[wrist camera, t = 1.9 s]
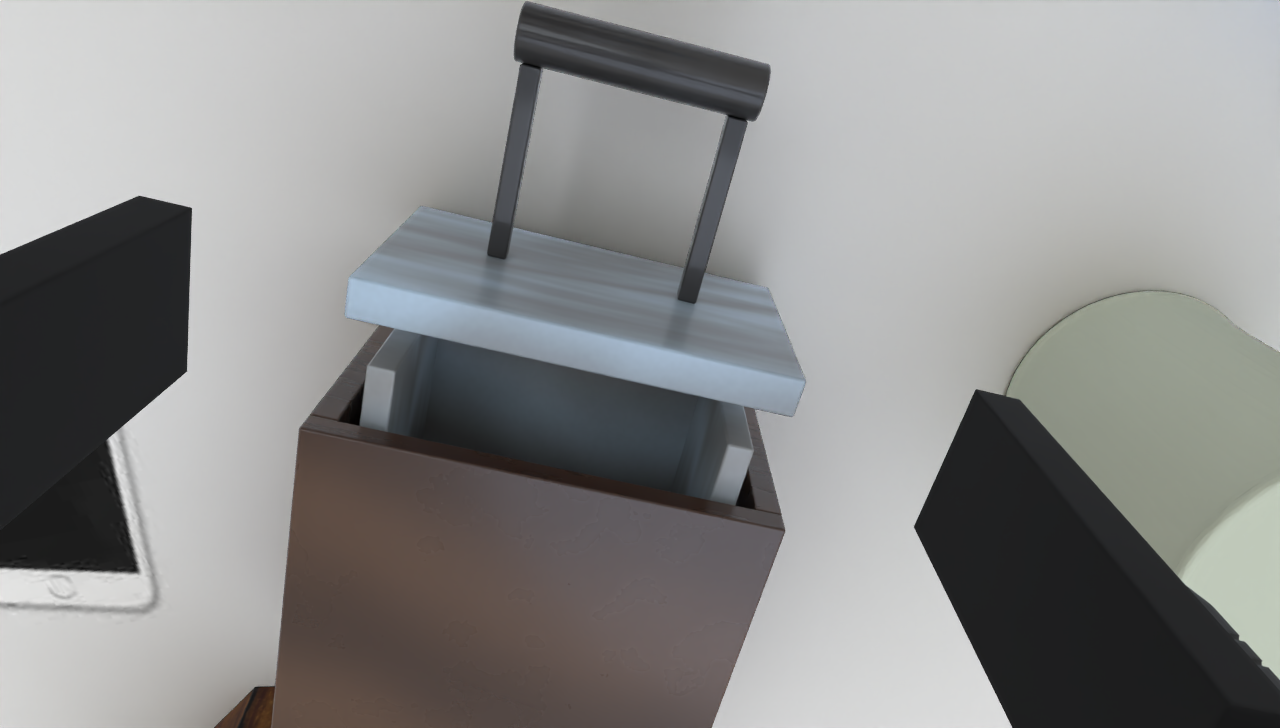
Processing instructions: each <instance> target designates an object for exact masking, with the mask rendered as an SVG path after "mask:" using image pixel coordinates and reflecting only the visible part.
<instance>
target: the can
mask: <svg viewBox="0 0 1280 728" xmlns="http://www.w3.org/2000/svg"><path fill="white" fill-rule="evenodd" d="M1006 396H1007V397H1011V398H1016V399H1020V400H1021V401H1022V403H1023V404H1024V405H1025V406H1026V407H1027V408H1028V409H1029V410H1030V411H1031V413H1032V414H1033V415H1034V416H1035V417H1036V418H1037V419H1038V420H1039V422H1040V423H1041V424H1042V425H1043V426H1044V427H1045V428H1046V429H1047V431H1048V432H1049V433H1050V434H1051V435H1052V436H1053V437H1054V438H1055V439H1056V441H1057V442H1058V443H1059V444H1060V445H1061V446H1062V447H1063V448H1064V450H1065V451H1066V452H1067V453H1068V454H1069V455H1070V456H1071V457H1072V459H1073V460H1074V461H1075V462H1076V463H1077V464H1078V465H1079V466H1080V467H1081V469H1082V470H1083V471H1084V472H1085V473H1086V474H1087V475H1088V476H1089V478H1090V479H1091V480H1092V481H1093V482H1094V483H1095V484H1096V485H1097V486H1098V488H1099V489H1100V490H1101V491H1102V492H1103V493H1104V494H1105V495H1106V497H1107V498H1108V499H1109V500H1110V501H1111V502H1112V503H1113V504H1114V506H1115V507H1116V508H1117V509H1118V510H1119V511H1120V512H1121V513H1122V514H1123V516H1124V517H1125V518H1126V519H1127V520H1128V521H1129V522H1130V523H1131V525H1132V526H1133V527H1134V528H1135V529H1136V530H1137V531H1138V532H1139V533H1140V535H1141V536H1142V537H1143V538H1144V539H1145V540H1146V541H1147V542H1148V544H1149V545H1150V546H1151V547H1152V548H1153V549H1154V550H1155V551H1156V553H1157V554H1158V555H1159V556H1160V557H1161V558H1162V559H1163V560H1164V561H1165V563H1166V564H1167V565H1168V566H1169V567H1170V568H1171V569H1172V570H1173V572H1174V573H1175V574H1176V575H1177V576H1178V577H1179V578H1180V579H1181V580H1182V582H1183V583H1184V584H1185V585H1186V586H1188V587H1189V588H1190V589H1192V590H1193V591H1194V592H1195V593H1197V594H1198V595H1199V596H1201V597H1202V598H1203V599H1205V600H1206V601H1207V602H1208V603H1210V604H1211V605H1212V606H1213V607H1214V608H1215V609H1216V610H1217V611H1218V612H1219V613H1220V615H1221V616H1222V617H1223V618H1224V619H1225V620H1226V621H1227V622H1228V623H1229V624H1230V626H1231V627H1232V628H1233V629H1234V630H1235V631H1236V632H1237V633H1238V634H1239V635H1240V636H1239V640H1240V641H1244V642H1246V643H1247V644H1248V645H1249V646H1250V648H1251V649H1252V650H1253V651H1254V652H1255V653H1256V654H1257V655H1258V656H1259V658H1260V659H1261V660H1262V666H1265V667H1269V669H1270V670H1271V671H1272V672H1273V673H1274V674H1275V675H1276V676H1277V677H1278V678H1279V680H1280V352H1278V351H1276V350H1275V349H1273V348H1271V347H1270V346H1268V345H1266V344H1265V343H1263V342H1261V341H1260V340H1258V339H1256V338H1255V337H1253V336H1251V335H1250V334H1248V333H1246V332H1245V331H1243V330H1241V329H1240V328H1238V327H1237V326H1235V325H1234V324H1233V323H1232V322H1231V321H1230V320H1229V319H1228V318H1227V317H1226V316H1225V315H1223V314H1222V313H1221V312H1219V311H1218V310H1217V309H1215V308H1214V307H1212V306H1210V305H1209V304H1207V303H1205V302H1203V301H1201V300H1198V299H1195V298H1193V297H1190V296H1186V295H1183V294H1178V293H1173V292H1164V291H1141V292H1132V293H1126V294H1120V295H1117V296H1113V297H1110V298H1106V299H1103V300H1100V301H1098V302H1095V303H1093V304H1090V305H1088V306H1086V307H1084V308H1082V309H1080V310H1078V311H1076V312H1075V313H1073V314H1071V315H1070V316H1068V317H1066V318H1065V319H1063V320H1062V321H1061V322H1059V323H1058V324H1057V325H1055V326H1054V327H1053V328H1051V329H1050V330H1049V331H1048V332H1047V333H1046V334H1045V335H1044V336H1042V337H1041V338H1040V339H1039V340H1038V341H1037V342H1036V344H1035V345H1034V346H1033V347H1032V348H1031V349H1030V351H1029V352H1028V353H1027V355H1026V356H1025V357H1024V359H1023V360H1022V362H1021V363H1020V365H1019V367H1018V368H1017V370H1016V372H1015V374H1014V376H1013V378H1012V380H1011V382H1010V385H1009V388H1008V390H1007V393H1006Z"/></svg>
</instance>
